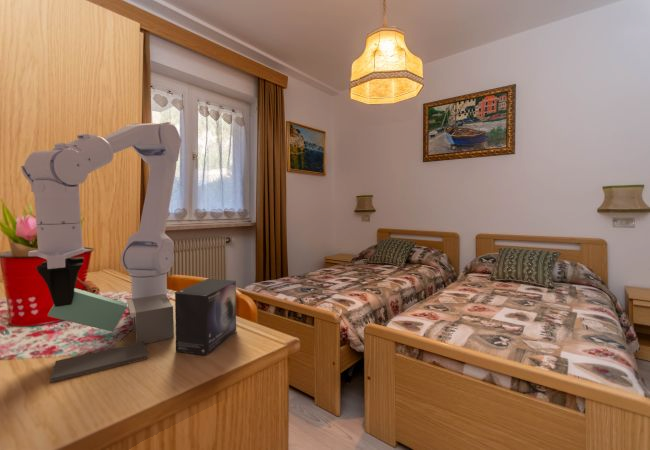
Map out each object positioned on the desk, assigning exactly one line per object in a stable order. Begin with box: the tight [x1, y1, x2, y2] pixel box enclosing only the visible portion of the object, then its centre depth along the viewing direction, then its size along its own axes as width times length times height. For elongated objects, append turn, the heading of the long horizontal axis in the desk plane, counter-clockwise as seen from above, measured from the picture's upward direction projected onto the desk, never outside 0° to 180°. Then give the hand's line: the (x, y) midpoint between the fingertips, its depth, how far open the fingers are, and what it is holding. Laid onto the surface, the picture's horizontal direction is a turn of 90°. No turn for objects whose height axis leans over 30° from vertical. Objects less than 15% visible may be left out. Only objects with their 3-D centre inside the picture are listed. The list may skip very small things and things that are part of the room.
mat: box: [49, 341, 148, 383], centre depth 50 cm, size 6×12×1 cm, turn 125°
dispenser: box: [126, 294, 175, 345], centre depth 61 cm, size 10×7×6 cm
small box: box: [174, 277, 237, 356], centre depth 57 cm, size 11×6×10 cm, turn 168°
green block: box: [46, 288, 128, 333], centre depth 55 cm, size 2×10×5 cm, turn 125°
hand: (64, 302), depth 53 cm, fingers closed on green block, 2 cm apart
